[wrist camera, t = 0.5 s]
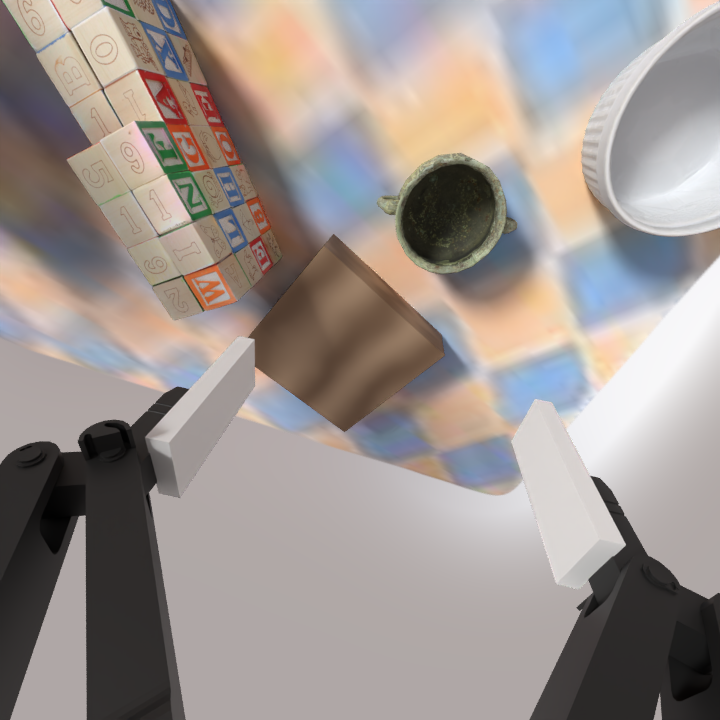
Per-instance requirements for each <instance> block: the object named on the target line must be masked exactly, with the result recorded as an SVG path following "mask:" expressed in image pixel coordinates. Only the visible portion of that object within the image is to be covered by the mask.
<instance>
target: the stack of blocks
mask: <svg viewBox="0 0 720 720" xmlns="http://www.w3.org/2000/svg"><path fill="white" fill-rule="evenodd" d="M2 1H3V3H4V4H5V6H6V7H7V9H8V10H9V12H10V14H11V15H12V17H13V18H14V20H15V21H16V23H17V25H18V26H19V28H20V29H21V31H22V33H23V34H24V36H25V37H26V39H27V40H28V42H29V44H30V45H31V47H32V48H33V49H34V50H35V51H36V56H37V58H38V60H39V61H40V63H41V64H42V66H43V67H44V69H45V71H46V72H47V74H48V76H49V77H50V79H51V80H52V82H53V83H54V85H55V87H56V88H57V90H58V91H59V93H60V95H61V96H62V98H63V99H64V101H65V103H66V104H67V105H68V106H69V108H70V110H71V112H72V114H73V116H74V117H75V119H76V120H77V122H78V124H79V125H80V127H81V128H82V130H83V131H84V133H85V134H86V136H87V138H88V139H89V141H90V142H91V144H92V145H93V146H91V147H89V148H87V149H85V150H83V151H81V152H79V153H77V154H75V155H73V156H71V157H69V158H68V159H67V162H68V163H69V165H70V166H71V168H72V169H73V171H74V172H75V174H76V175H77V177H78V178H79V180H80V181H81V183H82V184H83V186H84V187H85V189H86V190H87V192H88V193H89V194H90V196H91V197H92V199H93V200H94V202H95V203H96V205H98V206H99V208H100V209H101V211H102V213H103V214H104V216H105V217H106V219H107V220H108V222H109V223H110V225H111V226H112V227H113V229H114V230H115V232H116V233H117V235H118V236H119V238H120V239H121V241H122V242H123V244H124V245H125V246H126V247H127V250H128V252H129V253H130V255H131V256H132V258H133V259H134V261H135V262H136V264H137V265H138V267H139V268H140V270H141V271H142V273H143V274H144V276H145V277H146V279H147V280H148V282H149V283H150V284H151V285H152V286H153V290H154V292H155V294H156V295H157V297H158V298H159V300H160V301H161V303H162V304H163V306H164V307H165V309H166V310H167V312H168V313H169V315H170V316H171V318H172V319H173V320H178V319H181V318H185V317H188V316H192V315H195V314H199V313H202V312H204V311H208V310H212V309H215V308H218V307H222V306H225V305H228V304H231V303H234V302H237V301H238V300H239V299H240V298H241V297H242V296H243V295H244V294H245V293H246V292H247V291H248V290H249V289H250V288H252V287H253V286H254V285H255V284H256V283H257V282H258V281H259V280H260V279H261V278H262V277H263V275H264V274H265V273H267V271H268V270H269V269H270V268H271V267H272V266H273V265H275V264H276V263H277V262H278V261H279V260H280V259H281V258H282V254H281V251H280V249H279V247H278V244H277V242H276V240H275V237H274V235H273V233H272V230H271V226H270V224H269V222H268V219H267V217H266V215H265V213H264V210H263V208H262V206H261V203H260V201H259V199H258V197H257V194H256V192H255V189H254V187H253V185H252V182H251V180H250V178H249V176H248V173H247V171H246V169H245V167H244V165H243V164H242V163H241V161H240V158H239V156H238V154H237V151H236V150H235V147H234V145H233V142H232V140H231V138H230V136H229V133H228V131H227V129H226V128H225V126H224V124H223V121H222V119H221V117H220V114H219V112H218V110H217V108H216V105H215V103H214V101H213V99H212V96H211V94H210V92H209V90H208V88H207V82H206V80H205V78H204V76H203V73H202V71H201V69H200V67H199V64H198V62H197V60H196V57H195V55H194V53H193V50H192V48H191V46H190V44H189V42H188V41H187V38H186V35H185V33H184V31H183V29H182V26H181V24H180V22H179V19H178V17H177V15H176V13H175V11H174V8H173V6H172V4H171V2H170V0H2Z"/></svg>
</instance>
